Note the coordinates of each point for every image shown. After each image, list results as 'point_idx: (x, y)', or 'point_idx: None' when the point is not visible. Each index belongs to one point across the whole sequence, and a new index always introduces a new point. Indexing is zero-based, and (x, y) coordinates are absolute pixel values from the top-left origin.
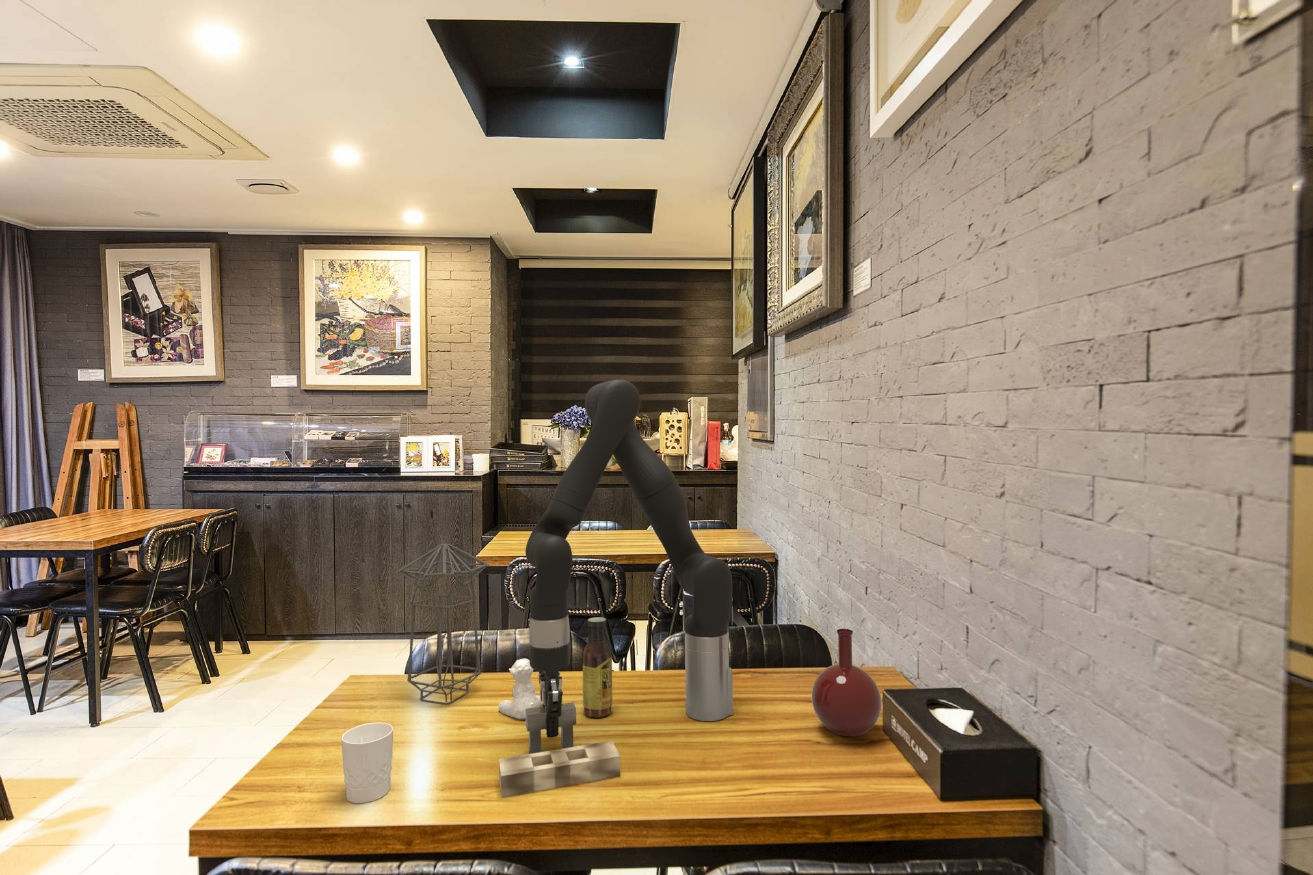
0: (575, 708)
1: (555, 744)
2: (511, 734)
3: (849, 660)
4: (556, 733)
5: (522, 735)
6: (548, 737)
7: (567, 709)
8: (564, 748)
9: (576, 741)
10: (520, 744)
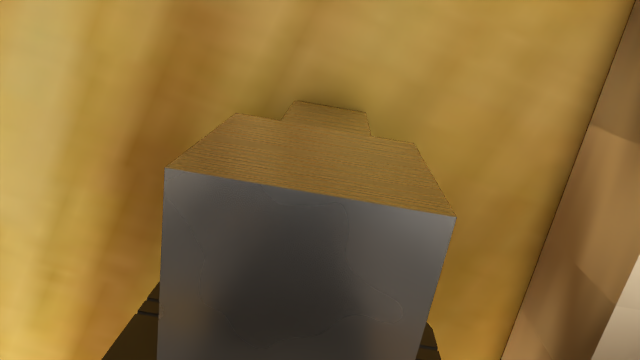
0: (453, 224)
1: None
2: (15, 347)
3: None
4: None
5: (45, 306)
6: None
7: (414, 340)
8: (619, 305)
9: (250, 47)
10: None
